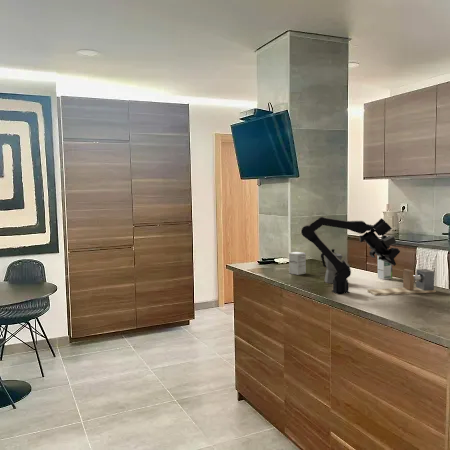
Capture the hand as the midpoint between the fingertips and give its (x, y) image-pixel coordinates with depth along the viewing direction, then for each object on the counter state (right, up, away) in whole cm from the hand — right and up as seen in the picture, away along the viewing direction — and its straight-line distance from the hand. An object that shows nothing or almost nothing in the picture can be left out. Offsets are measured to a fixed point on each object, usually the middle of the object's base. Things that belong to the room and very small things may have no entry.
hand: (395, 264), depth 215 cm
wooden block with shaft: (+12, -11, +2) cm, 17 cm away
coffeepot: (-24, -12, +28) cm, 39 cm away
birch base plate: (+3, -13, +1) cm, 14 cm away
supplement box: (-38, -10, +53) cm, 67 cm away
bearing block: (+15, -12, +2) cm, 20 cm away
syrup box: (+7, -11, +33) cm, 36 cm away
